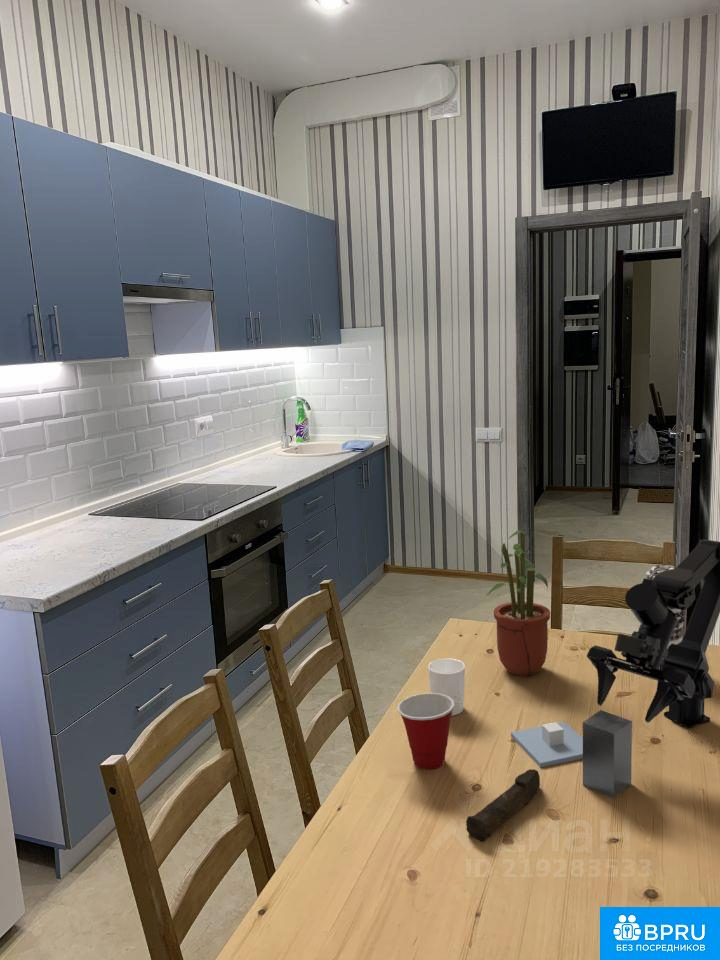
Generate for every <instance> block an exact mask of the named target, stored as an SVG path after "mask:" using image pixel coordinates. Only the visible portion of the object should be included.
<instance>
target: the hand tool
mask: <svg viewBox="0 0 720 960" xmlns="http://www.w3.org/2000/svg"><path fill="white" fill-rule="evenodd" d="M539 773H540V772H539V771H538V770H536V769H532V768H531V769H527V770H526V771H524V772H523V773H521V774H519V775H518V776H516V777H515V779H514V783H513V784H512V785H511V786H510V787H509V788H508V789H507V790H505V791H504V792H502V793H501V794H499V796H498V797H496V798H495V799H494V800H492V801H491V802H489V804H487V805H486V806H485V807H483V808H482V809H480V811H478V812H476V813H475V814H473V815H469V816H467V818H466V821H465V823H466V824H465V827H466V828H465V829H466V832H467V833H468V835H469V836H470V837H472V838H473V839H475V840H477V841H479V842H482V843H483V842H486V840H487V838H489V837H490V836H491V834H492V832H493V831H494V830H496V829H497V828H498V827H499V826H501V824H502V823H503V822H505V820H507V819H509V818H510V817H511V816H512V815H513V814H515V812H517V810H519V809H520V808H521V807H523V805H529V804H530V803H532V801H533V800H534V799H535V797H536V795H537V794H538V792H539V790H540V788H541V787H540V786H541V784H540V783H541V780H540V779H541V778H540V777H541V776H540V774H539ZM490 838H491V837H490Z"/></svg>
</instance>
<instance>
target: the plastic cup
mask: <svg viewBox="0 0 720 960" xmlns="http://www.w3.org/2000/svg"><path fill="white" fill-rule="evenodd" d="M453 708H454V701H453V699H451V698H450V697H449V696H446V695H443V694H438V693H431V692H425V693H424V692H423V693H418V694H414V695H410V696H408V697H406V698H403V699H402V700H400V701H399V703H398V704H397V712H398V714H400V716H401V719H402V722H403V724H404V728H405V731H406V735H407V740H408V745H409V749H410V751H411V755H412V761H413V762H414V764H415V766H416V767H418V768H420V769H423V770H428V771H429V770H435V769H439V768H440V767H442V766H443V765H444V762H445V760H446V752H447V746H448V741H449V732H450V724H451V720H452V716H451V715H452V710H453Z"/></svg>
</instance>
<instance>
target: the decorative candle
mask: <svg viewBox="0 0 720 960" xmlns="http://www.w3.org/2000/svg"><path fill="white" fill-rule="evenodd" d="M676 567H677V566H674V565H671V564H657V565H654V566H652V567H651V568H650V569H649V570H647V571H646V572H645V575H646V576H647V577H646V579H650V580H653V578H654V577H655V576H656V575H658V574H659V573H661V572H663V571H667V570H672V569H675V568H676ZM667 608H669V609H670V610H671V611H672V612H673V613H676V614H677V619H678V621H679V628H675V629H674V632H673V634H672V637H671V639H670V642H669V644H668V647H669V646H670V645H671V644H676V645H677V644H678V643H680V642H681V641H682V639H683V637H682V628H683V627H684V622H685V618H684V617H683V616H685V615H686V614H685V610H679V609H675V608H670V607H667ZM668 647H667V650H668ZM664 658H665V656H664V657H663V659H664ZM663 659H662V661H663ZM661 663H662V662H661ZM660 665H661V664H660ZM659 669H660V667H659Z"/></svg>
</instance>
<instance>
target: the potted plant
mask: <svg viewBox="0 0 720 960" xmlns="http://www.w3.org/2000/svg"><path fill="white" fill-rule="evenodd" d="M518 534H520V537H519V541H520V543H514V544H513V545H512V549H513V551H514V553H513V554H512V553H509V551H508V548H507V546H506V543H505V542H503V543H502V546H501V553H502V556H503V559H504V562H501V563H500V564H499V565H500V569H501V570H503V569H504V568H505V569H506V572H507V579H508V583H506V582H504V581H502V582H498V583H496V584H495V585H494V586H493V587H491V588H490V590H489V591H488V593H487V595H485V597H484V599H483V601H482V602H483V603H484V602H485V600H487V598H488V597H489V596H490V595H491V594H492V593H493V592H495V591H496V590H498V589H500V588H502V587H503V586H506V585H507V584H508V585H509V586H508V587H509V593H510V600H511V602H507V603H502V604H500V605H497V606H496V607H495V608H494V609H493V617H494V619H495V621H496V645H497V646H496V647H497V652H498V653H497V654H498V656H499V661H500V663H501V664H502V665H503V667H504V669H506V670H507V671H508V672H509V673H511V674H513V675H516V676H532V675H534V674H536V673H537V672H539V671H540V670H541V669H542V667H543V666H544V664H545V662H546V659H547V653H548V633H549V631H548V628H549V627H548V625H549V624H548V621H549V620H550V618H551V611H550V609H549V608H548V607H546V606H544V605H542V604H538V603H535V602H534V592H535V591H534V589H535V585H534V584H535V578H536V579H539V580H541V581H542V582H543V583H544V585H545V586H546V587H547V588H546V589H547V590H548V588H549V583H548V578H546V577H545V576H543V575H542V574H541V573H540V572H539V573H537V572H536V573H535V570H536V567H535V566H534V564H533V563H532V562H531V561H530V560H528V559H527V558H526V554H528V555H529V554H530V552H531V551H530V550H525V549H526V546H525V545H526V542H525V541H526V532H525V531H522V530H518V531H517V530H516V531H515V532H513V533H511V535H510V536H509V537H508V539H507V540H506V542H508V541H509V540H510V539H511V538H513V537H515V536H517V535H518ZM510 557H514V566H515V581H516V584H514V578H513V571H512V567H511V566H512V565H511V561H510ZM526 569H527V573H526ZM526 575H527V576H526ZM515 585H516V591H515ZM515 592H516V593H515ZM525 593H526V594H525ZM516 596H517V597H516ZM525 597H526V598H525ZM516 600H517V601H516ZM525 600H526V601H525Z"/></svg>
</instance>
